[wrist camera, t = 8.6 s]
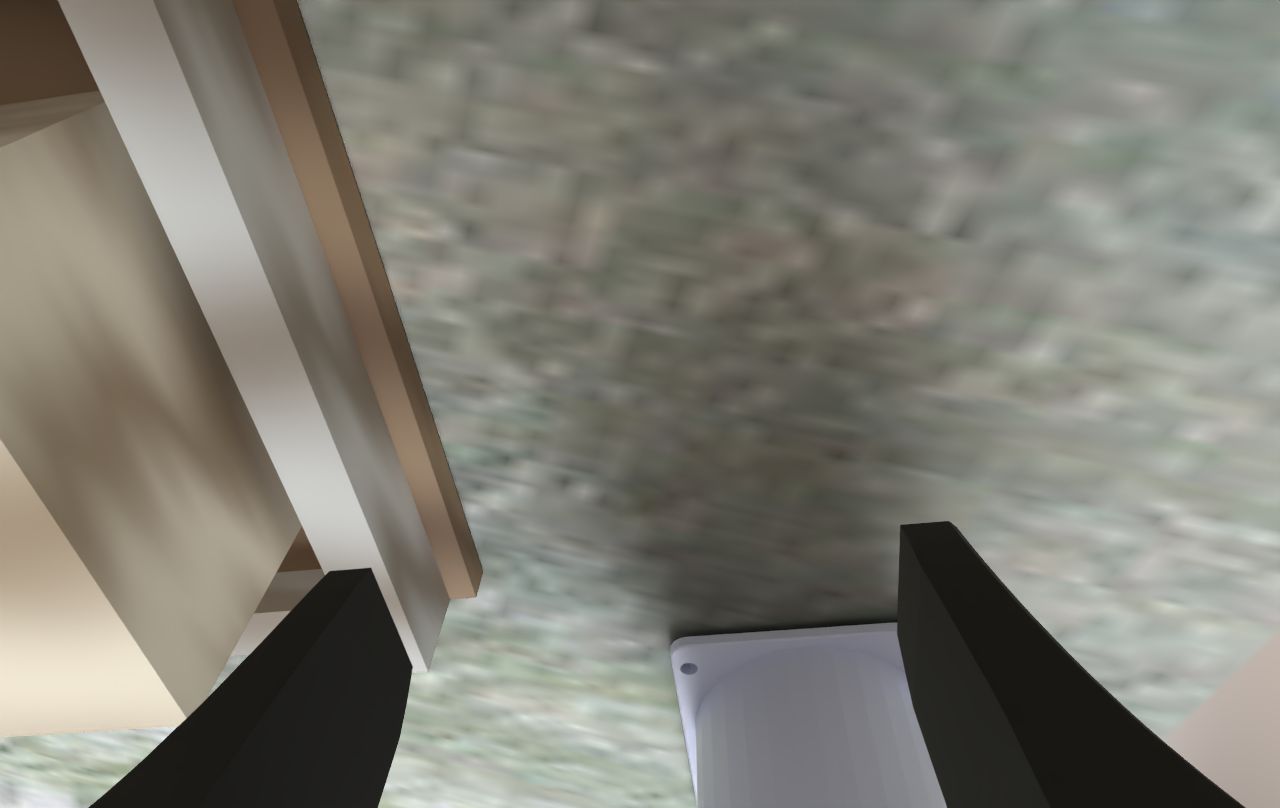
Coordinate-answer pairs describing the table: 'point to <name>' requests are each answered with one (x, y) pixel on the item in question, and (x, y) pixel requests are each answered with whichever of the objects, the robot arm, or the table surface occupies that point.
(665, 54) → the table surface
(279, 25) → the track board
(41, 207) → the door panel
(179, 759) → the robot arm
